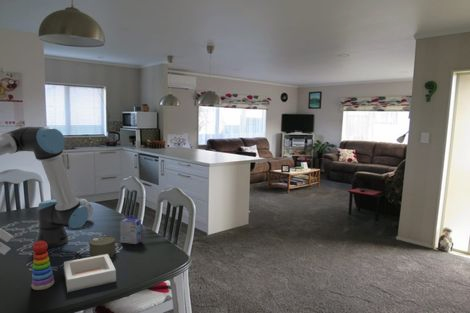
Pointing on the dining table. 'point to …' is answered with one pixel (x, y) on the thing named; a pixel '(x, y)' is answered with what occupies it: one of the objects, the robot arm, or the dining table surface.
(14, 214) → the dining table surface
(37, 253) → the stacking toy
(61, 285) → the dining table surface
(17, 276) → the dining table surface
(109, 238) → the can
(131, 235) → the ink cartridge box
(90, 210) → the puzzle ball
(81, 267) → the walled box
